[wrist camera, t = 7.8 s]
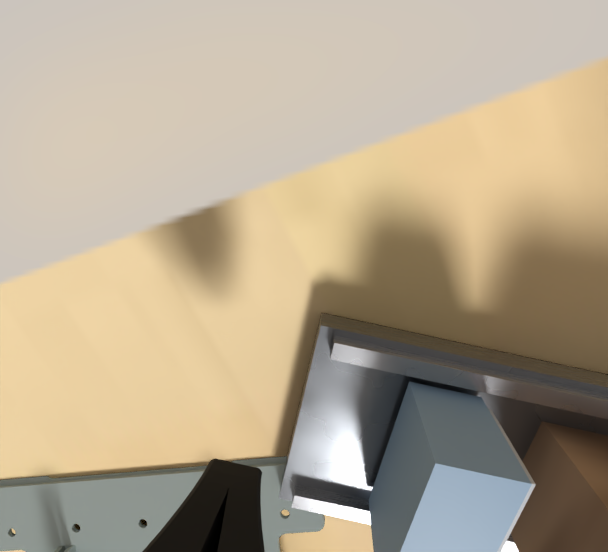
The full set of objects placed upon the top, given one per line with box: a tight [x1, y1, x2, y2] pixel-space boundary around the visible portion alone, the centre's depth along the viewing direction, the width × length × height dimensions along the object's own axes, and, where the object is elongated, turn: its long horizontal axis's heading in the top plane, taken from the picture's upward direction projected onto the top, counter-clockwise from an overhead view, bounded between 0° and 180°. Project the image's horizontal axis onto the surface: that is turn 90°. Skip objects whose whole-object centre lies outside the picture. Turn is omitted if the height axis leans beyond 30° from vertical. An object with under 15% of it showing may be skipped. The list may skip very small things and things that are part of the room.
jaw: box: [369, 382, 536, 552], centre depth 12 cm, size 3×5×4 cm, turn 168°
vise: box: [279, 313, 608, 552], centre depth 13 cm, size 15×8×5 cm, turn 78°
